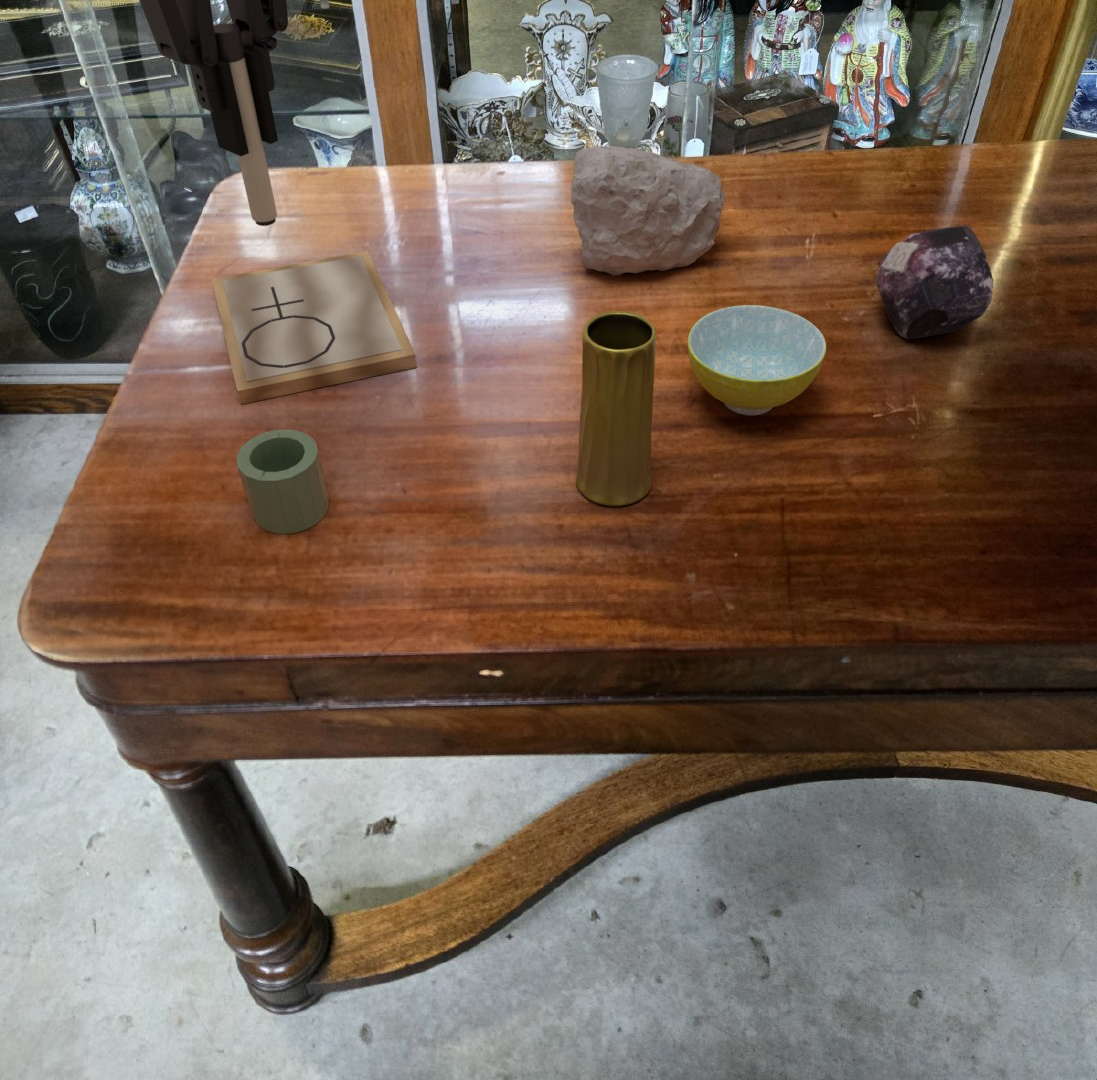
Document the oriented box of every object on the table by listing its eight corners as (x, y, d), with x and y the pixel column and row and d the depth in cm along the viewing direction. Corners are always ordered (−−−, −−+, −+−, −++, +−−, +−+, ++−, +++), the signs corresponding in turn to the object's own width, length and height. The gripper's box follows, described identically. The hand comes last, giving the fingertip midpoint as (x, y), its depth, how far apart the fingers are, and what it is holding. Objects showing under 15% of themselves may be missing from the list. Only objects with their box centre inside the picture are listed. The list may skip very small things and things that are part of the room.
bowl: (661, 378, 93) (665, 318, 89) (775, 352, 96) (784, 293, 92) (717, 453, 86) (724, 392, 81) (839, 423, 88) (853, 362, 84)
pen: (254, 229, 82) (210, 34, 72) (250, 217, 84) (206, 24, 73) (281, 224, 83) (240, 30, 72) (276, 213, 84) (236, 21, 74)
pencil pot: (258, 542, 79) (241, 488, 75) (247, 492, 83) (231, 439, 79) (335, 523, 80) (324, 469, 77) (321, 475, 84) (309, 422, 81)
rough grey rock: (714, 209, 112) (682, 77, 101) (752, 249, 105) (721, 113, 94) (579, 275, 112) (533, 151, 101) (608, 319, 105) (562, 192, 95)
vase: (603, 448, 86) (607, 298, 76) (666, 475, 84) (679, 324, 74) (561, 488, 83) (559, 336, 73) (625, 518, 80) (632, 365, 70)
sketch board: (240, 404, 91) (236, 389, 90) (215, 292, 105) (211, 277, 104) (417, 367, 95) (415, 352, 94) (370, 263, 109) (368, 248, 107)
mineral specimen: (875, 265, 103) (939, 185, 95) (960, 329, 102) (1031, 253, 94) (840, 309, 97) (905, 227, 89) (930, 377, 96) (1003, 300, 88)
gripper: (88, -218, 56) (195, 193, 73) (303, -252, 65) (356, 124, 81) (16, -231, 60) (133, 164, 76) (228, -262, 68) (294, 100, 85)
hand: (248, 143), depth 79 cm, fingers closed on pen, 2 cm apart
